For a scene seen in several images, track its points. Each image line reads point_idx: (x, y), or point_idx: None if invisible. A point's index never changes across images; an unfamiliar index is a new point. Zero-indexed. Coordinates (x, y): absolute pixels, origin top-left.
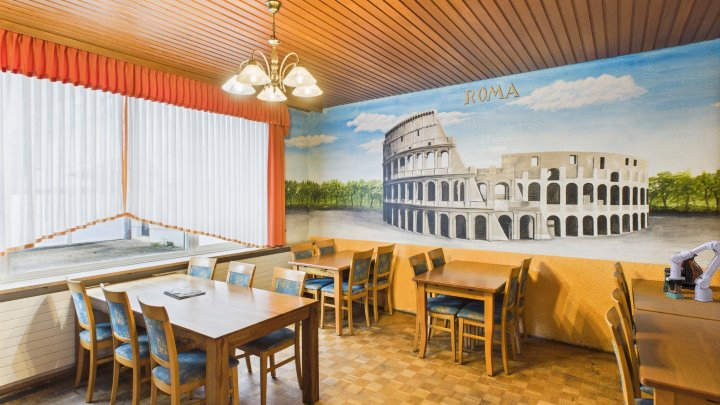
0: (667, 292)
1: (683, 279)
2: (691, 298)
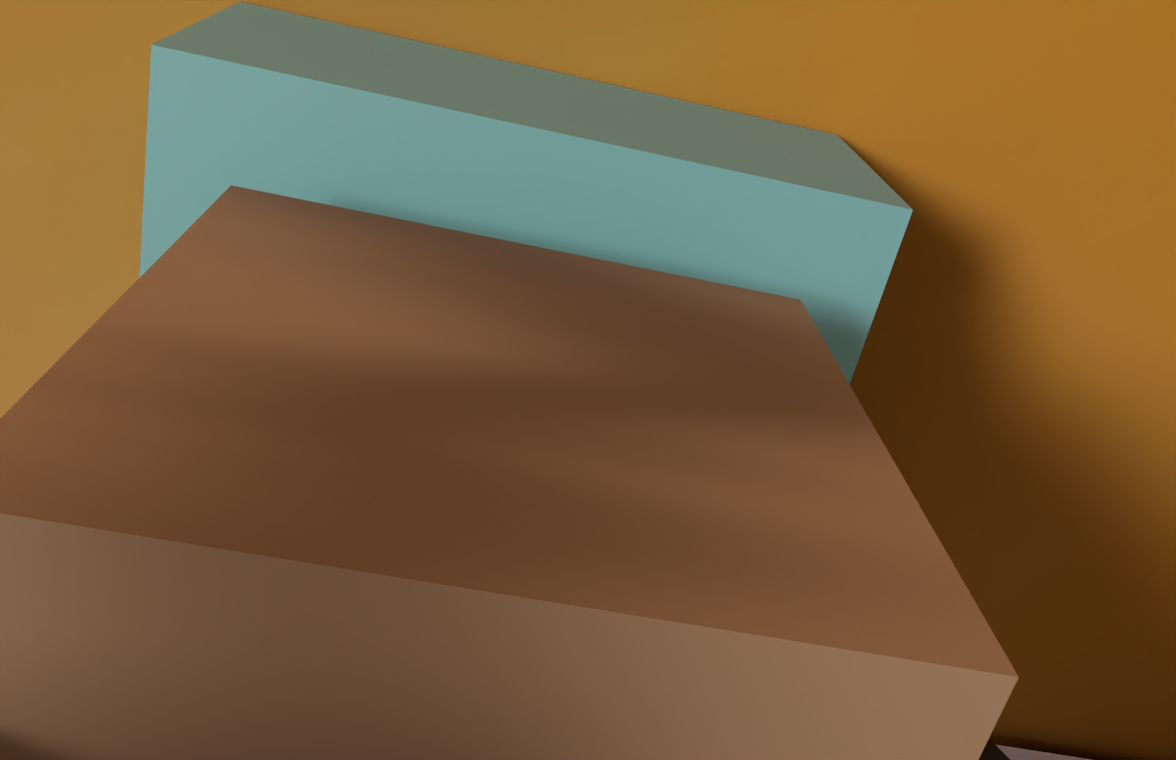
0: (191, 119)
1: None
2: None
